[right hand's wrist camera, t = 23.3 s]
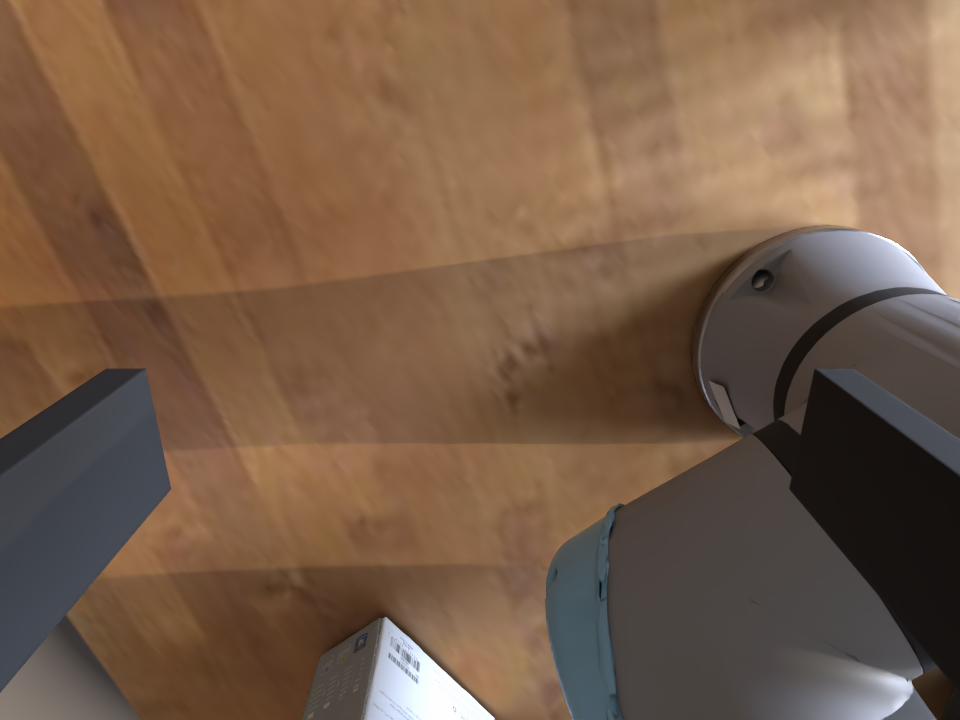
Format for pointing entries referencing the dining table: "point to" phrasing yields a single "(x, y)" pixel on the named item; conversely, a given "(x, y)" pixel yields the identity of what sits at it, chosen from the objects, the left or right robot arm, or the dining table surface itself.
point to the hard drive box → (385, 682)
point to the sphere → (952, 707)
